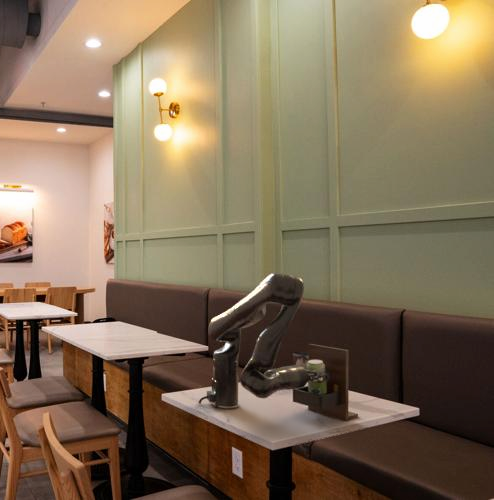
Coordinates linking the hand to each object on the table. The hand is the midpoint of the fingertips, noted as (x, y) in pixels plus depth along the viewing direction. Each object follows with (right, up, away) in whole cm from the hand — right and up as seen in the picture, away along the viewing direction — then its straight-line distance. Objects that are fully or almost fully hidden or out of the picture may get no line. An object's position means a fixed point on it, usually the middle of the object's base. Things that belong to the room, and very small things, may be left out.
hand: (321, 372), depth 180 cm
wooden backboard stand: (+1, -15, +1) cm, 16 cm away
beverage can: (-2, -8, -2) cm, 8 cm away
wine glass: (+7, -16, +38) cm, 42 cm away
